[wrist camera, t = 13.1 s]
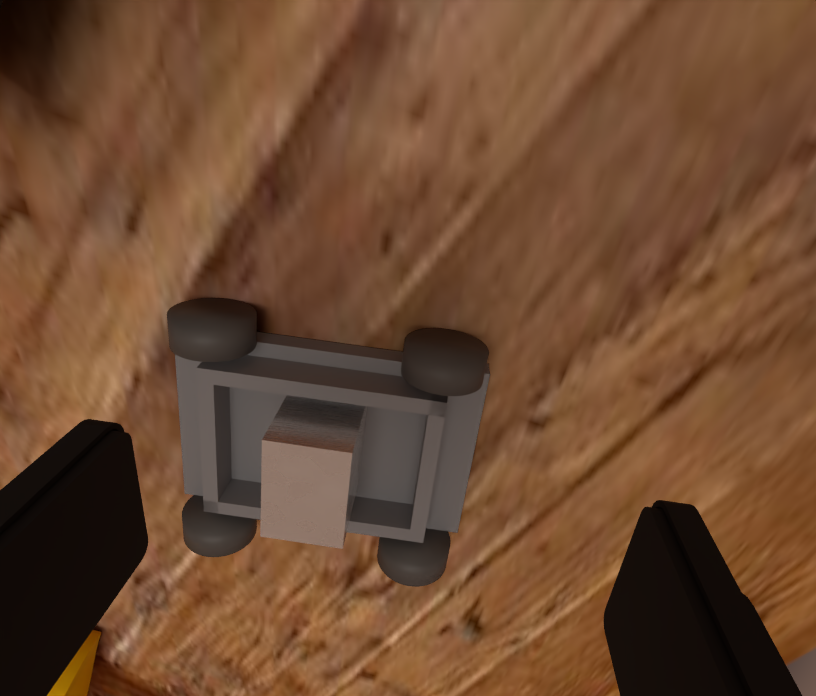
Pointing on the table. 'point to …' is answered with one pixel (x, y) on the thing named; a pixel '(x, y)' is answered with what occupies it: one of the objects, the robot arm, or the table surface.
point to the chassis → (338, 382)
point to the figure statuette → (78, 670)
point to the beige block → (311, 470)
